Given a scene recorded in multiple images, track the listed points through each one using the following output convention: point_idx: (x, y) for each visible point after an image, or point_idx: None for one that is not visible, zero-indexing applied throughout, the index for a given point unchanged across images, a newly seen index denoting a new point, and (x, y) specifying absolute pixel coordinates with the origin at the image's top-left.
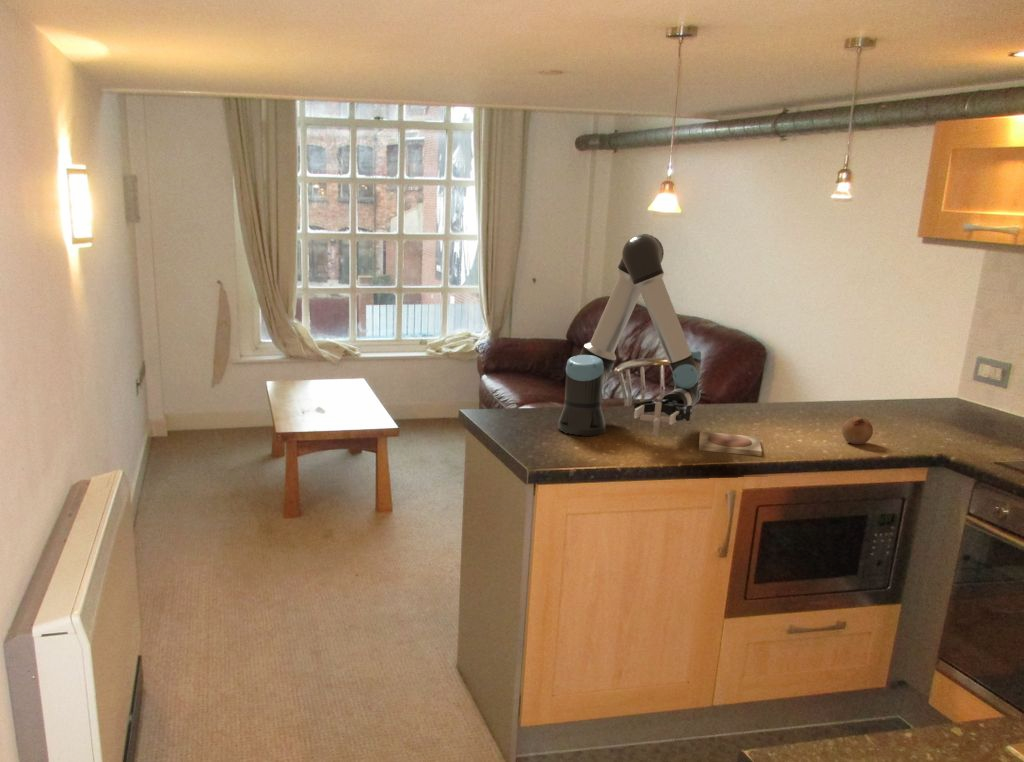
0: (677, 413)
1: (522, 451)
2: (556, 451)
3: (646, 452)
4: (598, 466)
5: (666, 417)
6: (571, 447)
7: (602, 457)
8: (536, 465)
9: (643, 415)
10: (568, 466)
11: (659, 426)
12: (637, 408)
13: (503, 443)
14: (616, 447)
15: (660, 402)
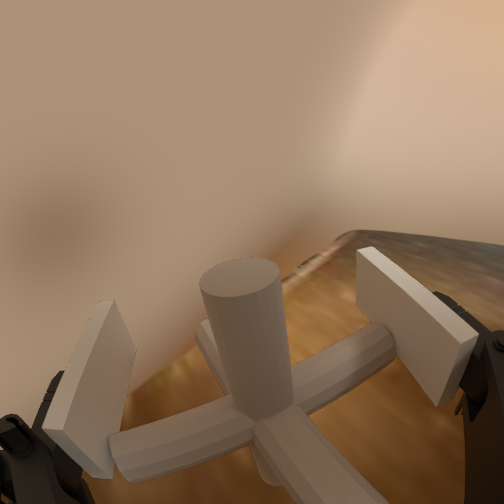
0: (63, 390)
1: (450, 246)
2: (435, 274)
3: None
4: (300, 279)
5: (177, 415)
6: None
7: (346, 313)
8: (371, 236)
9: (354, 334)
10: (338, 254)
11: (250, 448)
12: (382, 262)
13: (499, 246)
14: (410, 395)
15: (224, 290)
